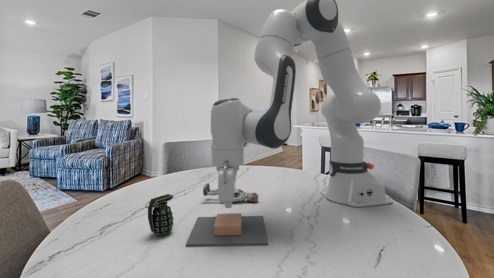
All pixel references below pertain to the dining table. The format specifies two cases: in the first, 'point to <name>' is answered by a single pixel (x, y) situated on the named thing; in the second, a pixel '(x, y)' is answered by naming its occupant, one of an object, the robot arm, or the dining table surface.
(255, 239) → the mat
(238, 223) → the tile
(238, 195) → the figurine
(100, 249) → the dining table surface
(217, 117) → the robot arm
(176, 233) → the dining table surface
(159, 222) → the grenade
